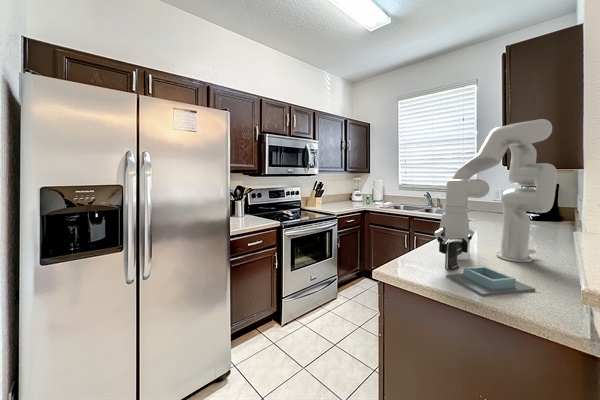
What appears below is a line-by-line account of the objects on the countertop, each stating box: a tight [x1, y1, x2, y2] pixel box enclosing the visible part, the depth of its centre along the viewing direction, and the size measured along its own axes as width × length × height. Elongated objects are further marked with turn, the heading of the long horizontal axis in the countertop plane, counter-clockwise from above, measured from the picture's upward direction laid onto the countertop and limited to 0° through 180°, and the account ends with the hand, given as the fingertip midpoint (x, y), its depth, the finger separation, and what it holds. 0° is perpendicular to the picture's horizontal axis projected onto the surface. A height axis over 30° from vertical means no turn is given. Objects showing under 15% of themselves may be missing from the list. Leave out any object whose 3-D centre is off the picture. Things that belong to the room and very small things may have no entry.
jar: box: [448, 239, 471, 261], centre depth 120 cm, size 9×8×12 cm
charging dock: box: [445, 265, 536, 297], centre depth 92 cm, size 20×16×4 cm
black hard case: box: [444, 240, 462, 271], centre depth 106 cm, size 7×4×11 cm, turn 125°
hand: (453, 252), depth 106 cm, fingers open, 9 cm apart
